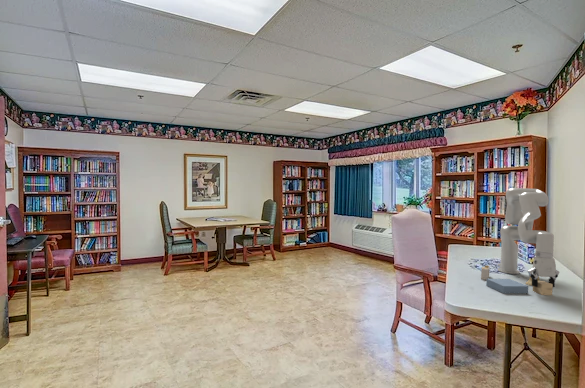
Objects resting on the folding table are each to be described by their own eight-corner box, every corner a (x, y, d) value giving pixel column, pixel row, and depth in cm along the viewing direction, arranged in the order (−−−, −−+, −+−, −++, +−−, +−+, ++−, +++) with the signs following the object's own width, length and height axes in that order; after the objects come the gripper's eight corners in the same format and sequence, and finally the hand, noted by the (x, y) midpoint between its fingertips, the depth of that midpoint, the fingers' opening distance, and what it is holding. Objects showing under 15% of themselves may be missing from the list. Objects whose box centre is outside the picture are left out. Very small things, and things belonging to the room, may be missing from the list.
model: (481, 279, 203) (481, 267, 202) (483, 276, 211) (483, 264, 211) (487, 280, 201) (487, 268, 200) (489, 277, 209) (489, 265, 209)
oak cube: (532, 291, 180) (533, 280, 180) (542, 291, 181) (543, 280, 181) (541, 295, 174) (542, 284, 174) (552, 295, 175) (552, 284, 175)
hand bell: (540, 284, 195) (542, 257, 195) (544, 287, 188) (546, 260, 187) (524, 282, 199) (525, 256, 198) (527, 285, 191) (528, 258, 191)
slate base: (486, 285, 189) (486, 278, 189) (509, 285, 190) (509, 278, 190) (503, 293, 175) (503, 286, 175) (528, 293, 176) (528, 286, 176)
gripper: (534, 256, 173) (533, 288, 173) (565, 256, 174) (564, 288, 174) (523, 253, 180) (522, 284, 180) (553, 254, 181) (552, 284, 181)
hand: (543, 286), depth 177 cm, fingers open, 9 cm apart
